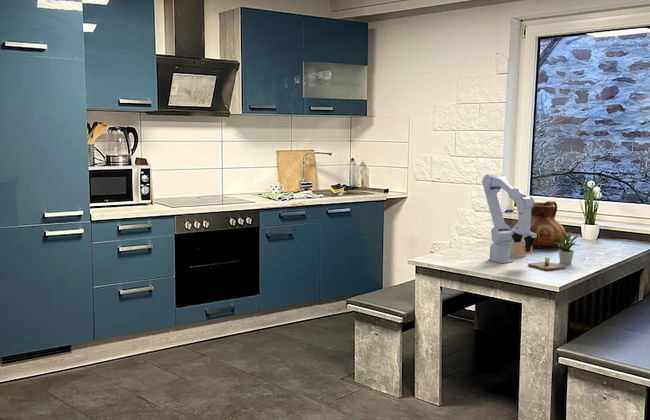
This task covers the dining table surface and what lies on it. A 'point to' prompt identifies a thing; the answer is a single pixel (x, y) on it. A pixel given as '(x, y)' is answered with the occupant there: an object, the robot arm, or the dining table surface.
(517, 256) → the can
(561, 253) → the house plant
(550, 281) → the dining table surface
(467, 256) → the dining table surface
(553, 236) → the jug
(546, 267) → the keeper
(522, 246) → the open box
